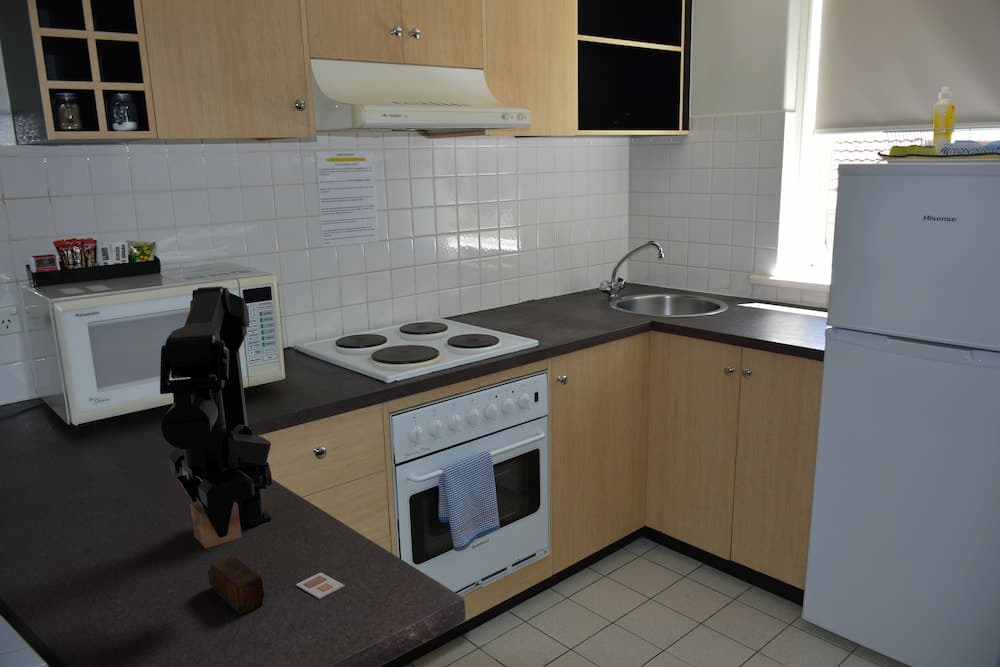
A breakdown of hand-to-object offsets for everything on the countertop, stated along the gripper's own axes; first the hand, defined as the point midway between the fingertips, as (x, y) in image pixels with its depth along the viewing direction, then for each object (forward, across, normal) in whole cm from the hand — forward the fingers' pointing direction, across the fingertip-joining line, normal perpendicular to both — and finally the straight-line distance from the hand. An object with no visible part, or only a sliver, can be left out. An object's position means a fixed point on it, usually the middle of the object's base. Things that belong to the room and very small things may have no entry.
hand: (216, 530), depth 108 cm
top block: (+1, 0, 0) cm, 1 cm away
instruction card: (+11, -5, -12) cm, 17 cm away
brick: (+12, 0, -2) cm, 12 cm away
